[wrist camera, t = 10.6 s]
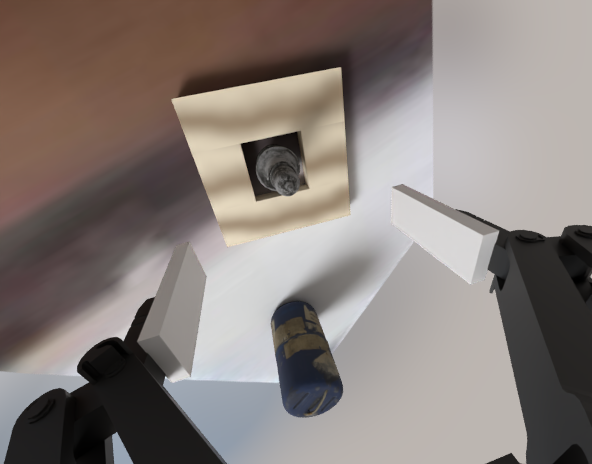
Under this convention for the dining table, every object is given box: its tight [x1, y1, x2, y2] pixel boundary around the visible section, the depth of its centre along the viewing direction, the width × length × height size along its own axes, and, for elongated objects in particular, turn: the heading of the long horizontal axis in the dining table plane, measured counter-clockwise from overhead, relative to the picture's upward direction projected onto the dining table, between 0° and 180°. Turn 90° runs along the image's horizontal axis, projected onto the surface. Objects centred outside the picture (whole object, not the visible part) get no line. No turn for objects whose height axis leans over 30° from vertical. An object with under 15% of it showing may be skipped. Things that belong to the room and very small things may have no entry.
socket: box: [171, 67, 350, 247], centre depth 33 cm, size 20×20×2 cm
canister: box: [271, 302, 343, 417], centre depth 42 cm, size 10×10×18 cm
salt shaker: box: [256, 145, 300, 196], centre depth 29 cm, size 6×6×12 cm
